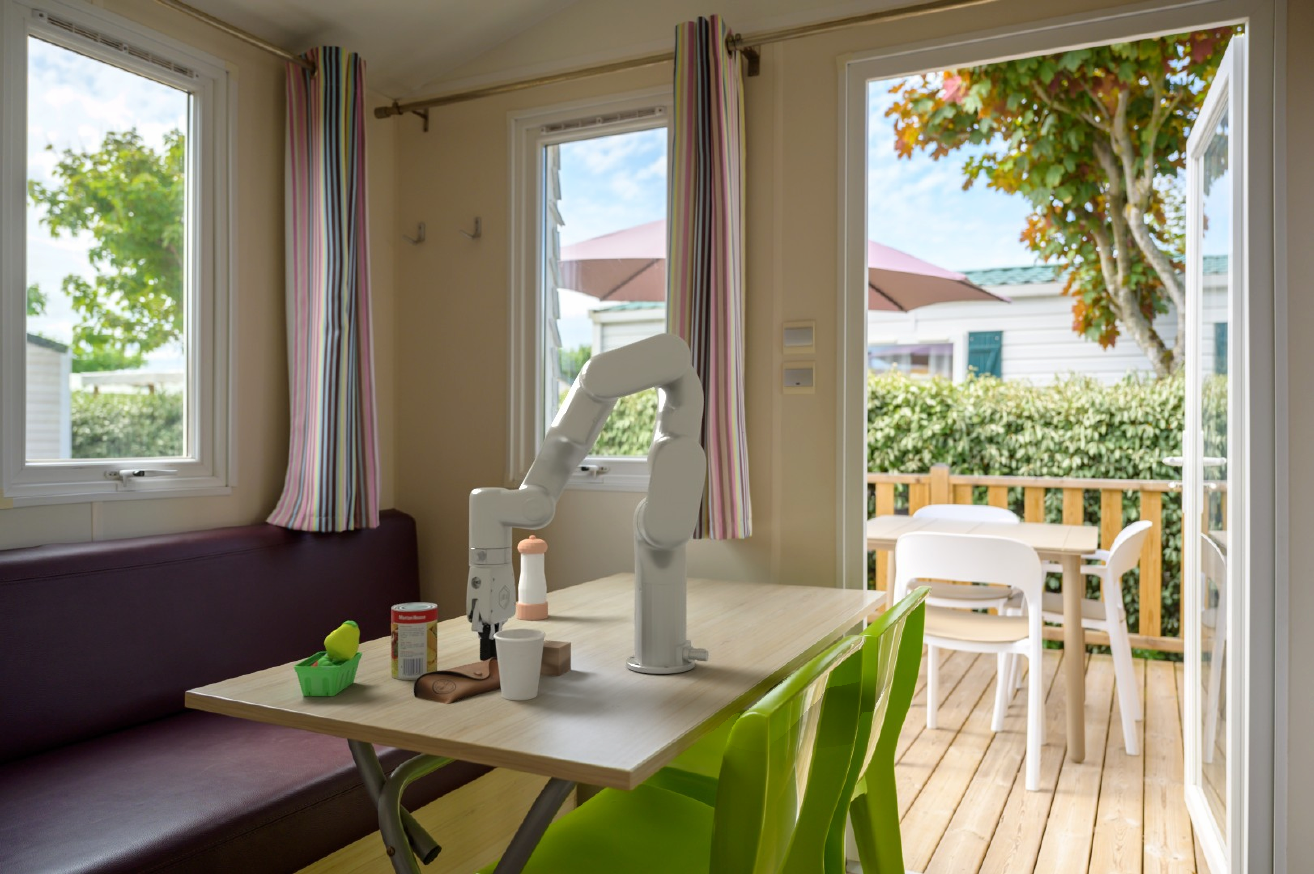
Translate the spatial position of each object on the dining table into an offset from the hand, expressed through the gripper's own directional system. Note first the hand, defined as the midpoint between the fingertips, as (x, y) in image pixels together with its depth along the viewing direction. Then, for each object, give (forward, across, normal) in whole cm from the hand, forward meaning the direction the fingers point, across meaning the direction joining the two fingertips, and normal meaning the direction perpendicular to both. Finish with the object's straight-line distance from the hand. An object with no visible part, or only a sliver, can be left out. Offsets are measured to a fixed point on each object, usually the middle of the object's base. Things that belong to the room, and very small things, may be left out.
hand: (489, 660), depth 164 cm
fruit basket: (+3, -19, +19) cm, 27 cm away
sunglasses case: (+3, -10, -3) cm, 11 cm away
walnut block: (+2, +4, -10) cm, 11 cm away
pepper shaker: (+2, +49, +17) cm, 52 cm away
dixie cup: (+2, -12, -12) cm, 17 cm away
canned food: (+2, -6, +12) cm, 13 cm away
